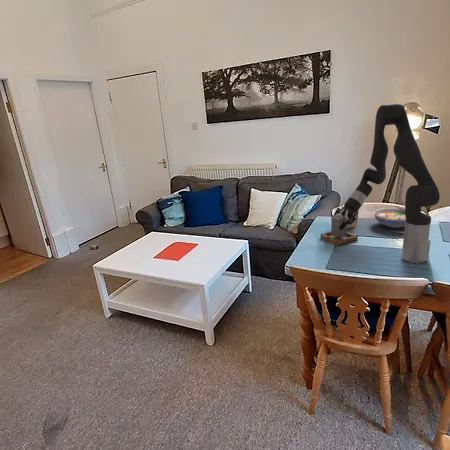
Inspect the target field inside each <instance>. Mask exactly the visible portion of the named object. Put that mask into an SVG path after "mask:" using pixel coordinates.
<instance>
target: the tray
mask: <svg viewBox="0 0 450 450" xmlns="http://www.w3.org/2000/svg"><path fill="white" fill-rule="evenodd" d="M358 237H359V236H358V235H356V234H354V233H351V232H349V231H347V236H344V237H340V238H337V237H335V236H333V235H331V230H330V231H327V232H324V233H320V239H321V240H323V241H326V242H328V243H330V244H332V245H334V246H336V247H340V246H343V245H348V244H350V243H354V242H358V241H359V239H358Z"/></svg>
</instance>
